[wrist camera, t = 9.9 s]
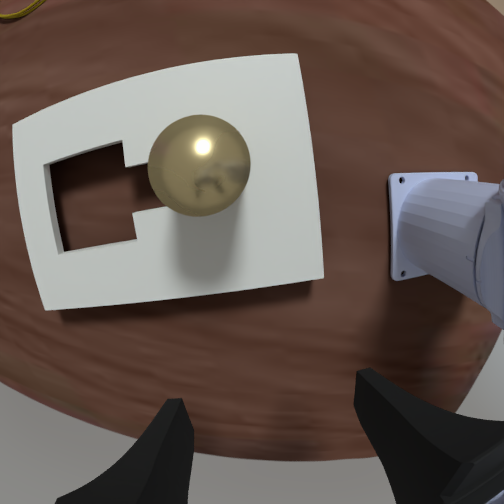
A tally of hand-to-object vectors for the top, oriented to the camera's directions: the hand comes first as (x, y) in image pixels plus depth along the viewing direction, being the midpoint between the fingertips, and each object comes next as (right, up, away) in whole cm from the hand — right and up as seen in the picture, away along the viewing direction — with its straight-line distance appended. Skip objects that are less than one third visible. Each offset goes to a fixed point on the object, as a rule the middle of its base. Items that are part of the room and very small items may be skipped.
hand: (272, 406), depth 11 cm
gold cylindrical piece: (-3, +11, +8) cm, 14 cm away
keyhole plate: (-7, +11, +8) cm, 15 cm away
